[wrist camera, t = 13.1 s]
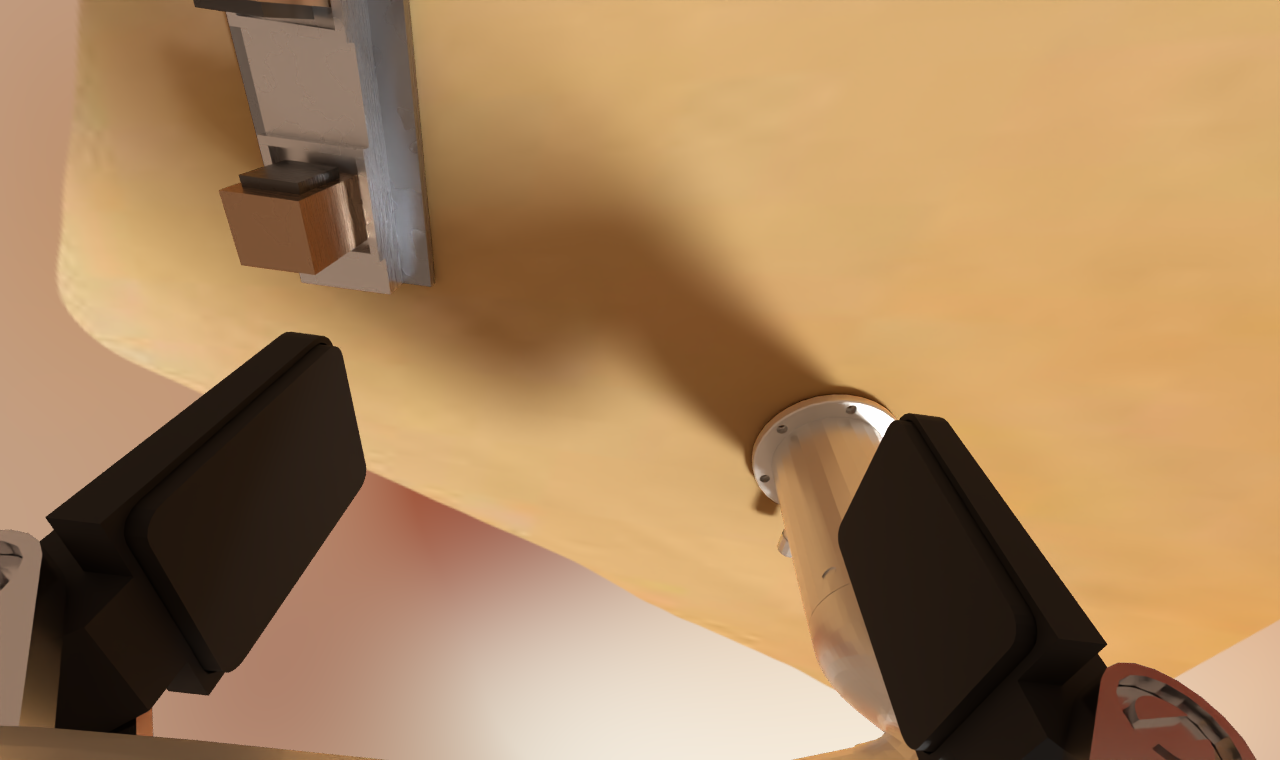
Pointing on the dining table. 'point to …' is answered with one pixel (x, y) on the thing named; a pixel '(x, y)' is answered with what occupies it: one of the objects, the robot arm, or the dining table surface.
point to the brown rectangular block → (266, 7)
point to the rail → (333, 148)
